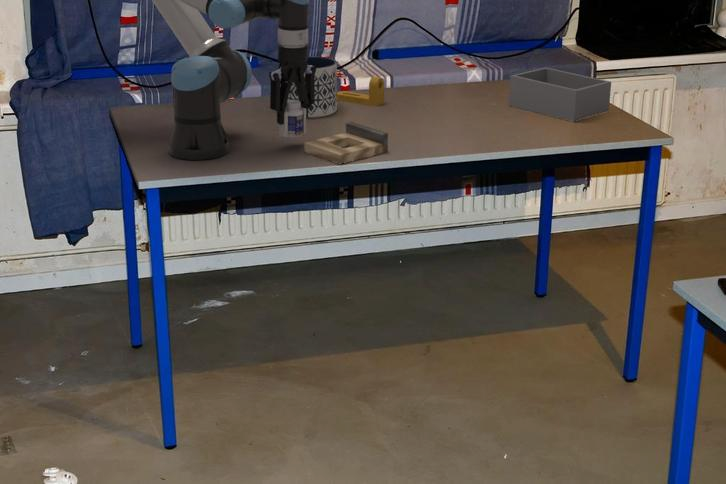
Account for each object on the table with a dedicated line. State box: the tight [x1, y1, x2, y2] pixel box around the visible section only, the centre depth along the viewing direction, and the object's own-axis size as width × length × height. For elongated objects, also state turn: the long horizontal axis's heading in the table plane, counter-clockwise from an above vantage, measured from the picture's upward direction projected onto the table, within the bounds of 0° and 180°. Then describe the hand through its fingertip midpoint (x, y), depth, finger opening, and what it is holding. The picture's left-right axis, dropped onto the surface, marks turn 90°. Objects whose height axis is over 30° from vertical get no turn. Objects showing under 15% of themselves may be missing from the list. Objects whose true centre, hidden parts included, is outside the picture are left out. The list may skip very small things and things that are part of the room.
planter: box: [286, 55, 338, 119], centre depth 314 cm, size 16×16×14 cm
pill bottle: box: [285, 100, 304, 139], centre depth 282 cm, size 5×5×9 cm
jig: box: [303, 121, 389, 164], centre depth 279 cm, size 16×14×5 cm
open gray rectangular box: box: [508, 67, 612, 121], centre depth 318 cm, size 16×24×9 cm, turn 42°
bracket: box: [337, 76, 385, 107], centre depth 326 cm, size 15×4×8 cm, turn 58°
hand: (292, 133), depth 283 cm, fingers closed on pill bottle, 5 cm apart
